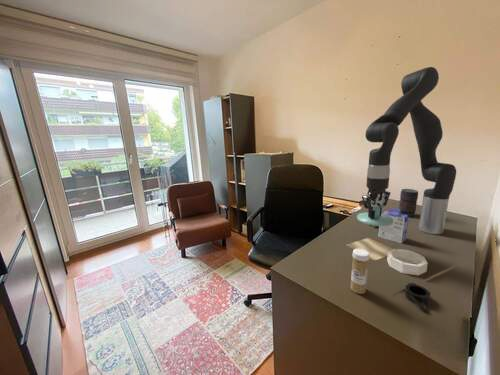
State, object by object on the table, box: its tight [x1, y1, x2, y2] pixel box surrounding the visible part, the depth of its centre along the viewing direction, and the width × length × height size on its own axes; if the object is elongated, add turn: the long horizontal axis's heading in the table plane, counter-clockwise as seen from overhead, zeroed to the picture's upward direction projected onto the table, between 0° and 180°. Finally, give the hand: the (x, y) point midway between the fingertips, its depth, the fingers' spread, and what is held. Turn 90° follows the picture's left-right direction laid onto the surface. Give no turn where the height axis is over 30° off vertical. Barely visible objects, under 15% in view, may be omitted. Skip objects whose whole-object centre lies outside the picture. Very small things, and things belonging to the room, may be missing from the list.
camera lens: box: [398, 188, 419, 218], centre depth 124 cm, size 8×8×15 cm
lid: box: [356, 204, 393, 227], centre depth 88 cm, size 13×13×6 cm
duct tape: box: [404, 282, 431, 311], centre depth 64 cm, size 8×10×3 cm
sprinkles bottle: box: [349, 249, 370, 295], centre depth 67 cm, size 5×5×13 cm
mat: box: [346, 237, 394, 261], centre depth 91 cm, size 14×14×1 cm
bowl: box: [386, 248, 428, 276], centre depth 78 cm, size 11×11×4 cm
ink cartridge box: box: [377, 207, 410, 244], centre depth 97 cm, size 10×6×14 cm, turn 39°
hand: (374, 217), depth 88 cm, fingers closed on lid, 3 cm apart
